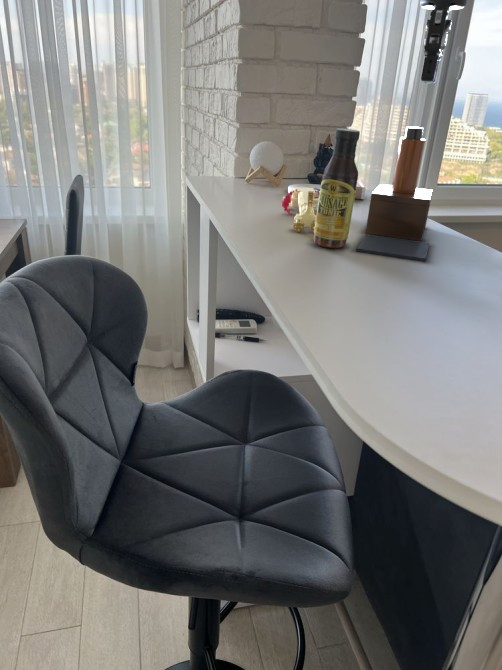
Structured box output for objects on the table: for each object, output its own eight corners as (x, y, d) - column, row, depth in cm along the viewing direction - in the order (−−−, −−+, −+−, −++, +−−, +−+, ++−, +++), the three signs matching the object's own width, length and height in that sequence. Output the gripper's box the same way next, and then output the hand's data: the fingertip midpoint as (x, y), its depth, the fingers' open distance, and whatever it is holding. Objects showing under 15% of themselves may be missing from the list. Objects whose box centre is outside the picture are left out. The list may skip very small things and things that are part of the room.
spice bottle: (416, 190, 103) (428, 127, 98) (414, 194, 99) (427, 129, 94) (392, 188, 105) (403, 125, 99) (389, 191, 101) (400, 127, 95)
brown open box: (425, 227, 109) (432, 189, 105) (421, 241, 99) (430, 199, 95) (373, 221, 112) (379, 184, 109) (365, 233, 102) (371, 193, 98)
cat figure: (331, 239, 101) (322, 203, 122) (337, 196, 96) (326, 166, 118) (281, 236, 101) (281, 200, 122) (285, 193, 96) (284, 163, 118)
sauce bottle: (307, 245, 92) (320, 128, 83) (319, 238, 97) (332, 126, 88) (342, 252, 89) (358, 131, 81) (352, 244, 94) (369, 130, 86)
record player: (366, 188, 131) (289, 184, 131) (364, 200, 132) (288, 196, 133) (359, 180, 141) (288, 177, 142) (358, 192, 143) (287, 188, 143)
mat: (428, 245, 96) (429, 243, 96) (425, 261, 87) (425, 258, 87) (365, 236, 100) (366, 234, 100) (356, 251, 90) (356, 248, 90)
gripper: (473, -36, 77) (449, 82, 84) (471, -18, 89) (450, 84, 97) (423, -36, 79) (403, 80, 87) (427, -18, 91) (409, 82, 99)
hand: (428, 82), depth 92 cm, fingers open, 8 cm apart
